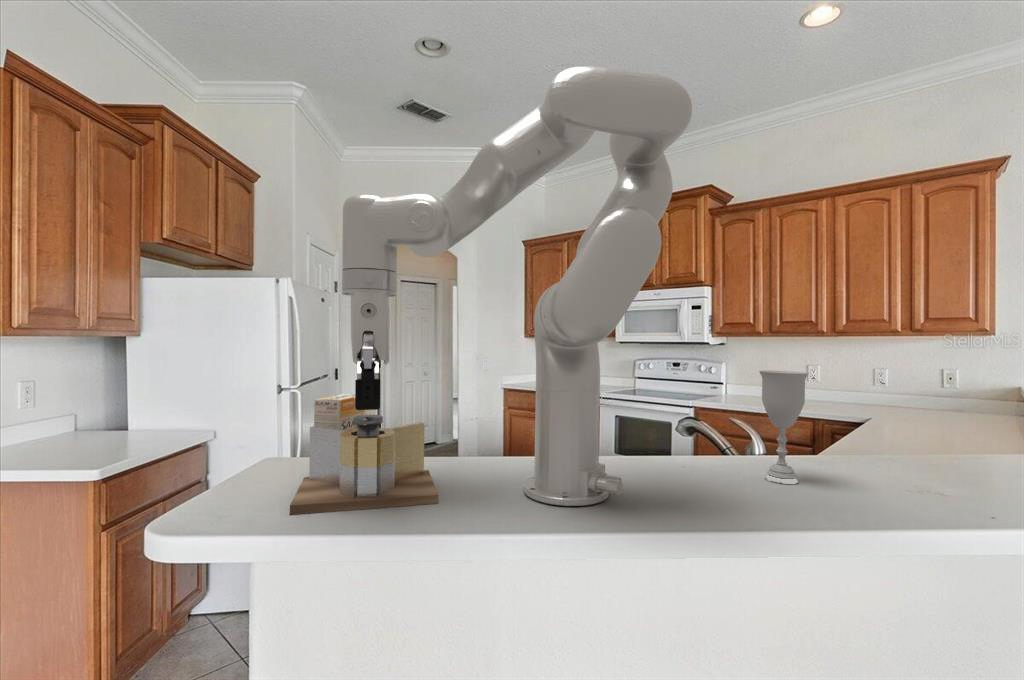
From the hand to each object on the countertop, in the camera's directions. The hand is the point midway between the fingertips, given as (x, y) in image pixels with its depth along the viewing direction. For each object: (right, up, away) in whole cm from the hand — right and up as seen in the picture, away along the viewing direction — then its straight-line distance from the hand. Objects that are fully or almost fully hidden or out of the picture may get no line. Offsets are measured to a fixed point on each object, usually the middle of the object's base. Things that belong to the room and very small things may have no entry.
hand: (368, 404), depth 71 cm
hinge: (-1, -12, +2) cm, 12 cm away
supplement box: (-8, -13, +11) cm, 19 cm away
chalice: (+65, -14, +11) cm, 68 cm away
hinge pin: (0, -12, -1) cm, 12 cm away
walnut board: (-1, -13, +2) cm, 13 cm away
